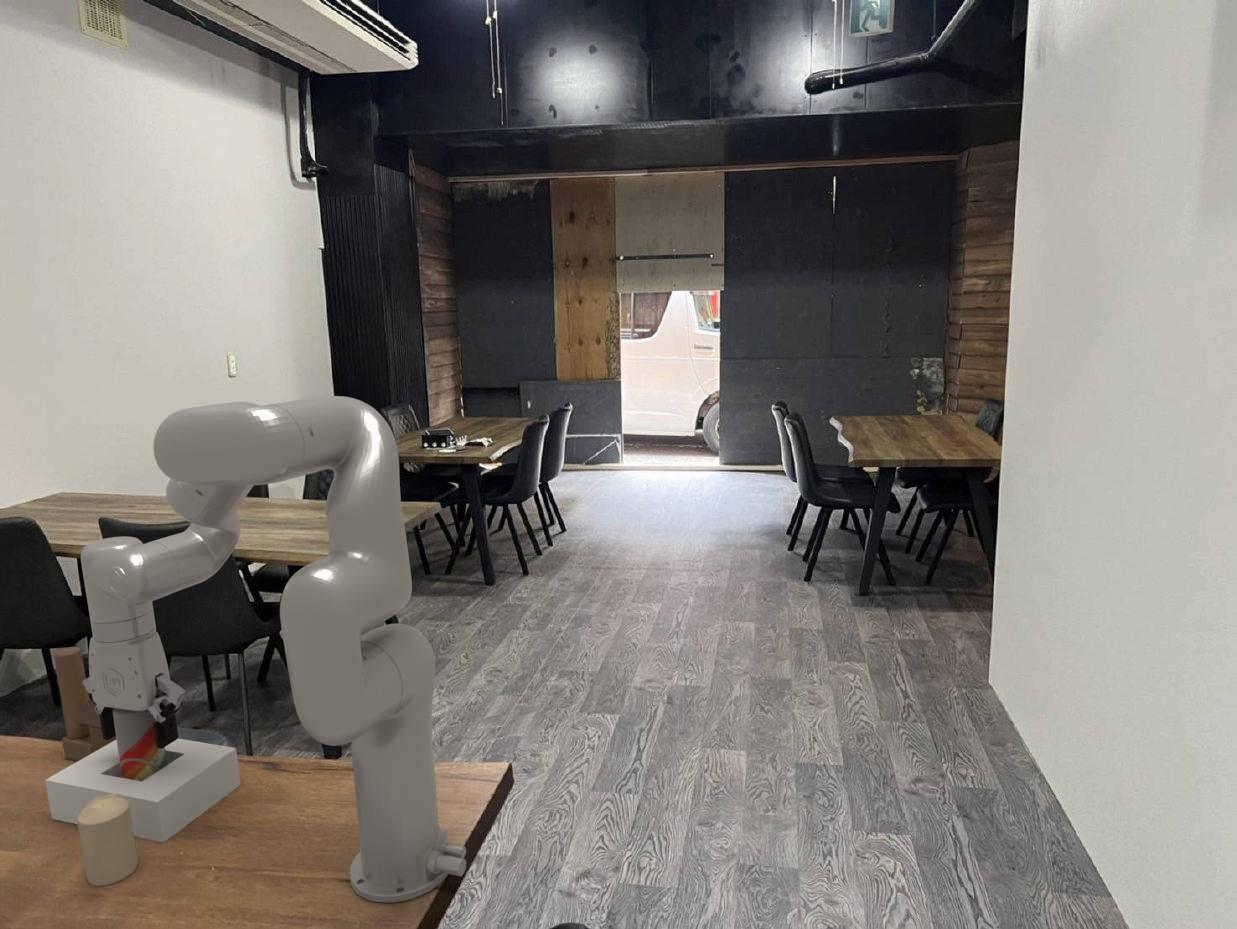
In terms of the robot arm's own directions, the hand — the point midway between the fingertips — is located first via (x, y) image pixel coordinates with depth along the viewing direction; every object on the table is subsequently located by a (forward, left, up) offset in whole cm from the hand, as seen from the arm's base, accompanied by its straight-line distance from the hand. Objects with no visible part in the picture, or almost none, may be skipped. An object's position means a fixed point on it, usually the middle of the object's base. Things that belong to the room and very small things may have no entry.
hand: (141, 739), depth 116 cm
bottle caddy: (0, 0, -10) cm, 10 cm away
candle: (-8, +13, -10) cm, 19 cm away
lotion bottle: (0, 0, -10) cm, 10 cm away
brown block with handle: (+18, -7, -10) cm, 22 cm away
